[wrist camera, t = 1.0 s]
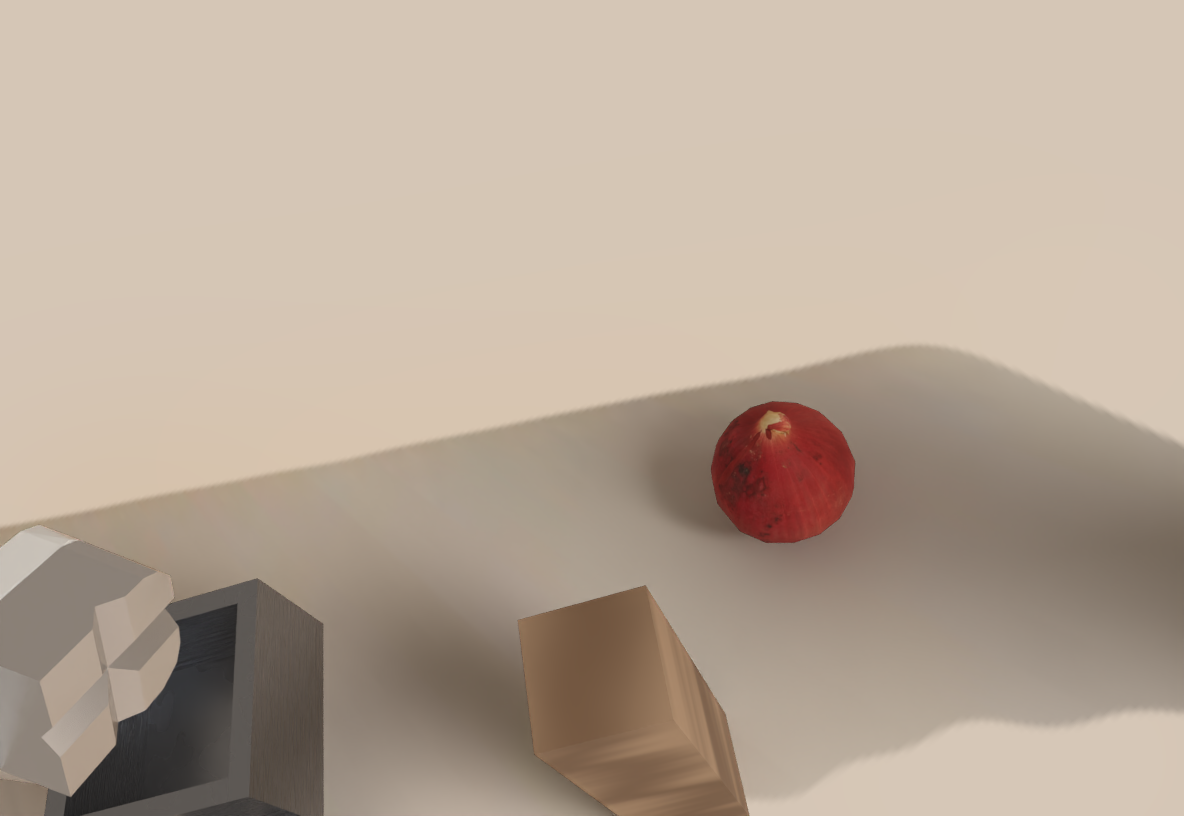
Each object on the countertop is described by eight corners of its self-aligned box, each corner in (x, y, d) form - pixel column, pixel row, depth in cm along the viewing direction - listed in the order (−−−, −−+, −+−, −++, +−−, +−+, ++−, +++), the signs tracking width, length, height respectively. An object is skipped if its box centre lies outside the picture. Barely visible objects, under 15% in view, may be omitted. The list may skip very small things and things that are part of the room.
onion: (781, 597, 42) (755, 517, 36) (701, 506, 46) (664, 417, 39) (887, 516, 43) (880, 422, 36) (800, 431, 46) (780, 332, 40)
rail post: (725, 714, 40) (645, 585, 29) (749, 816, 38) (673, 719, 27) (631, 737, 41) (517, 619, 30) (650, 839, 39) (534, 754, 27)
